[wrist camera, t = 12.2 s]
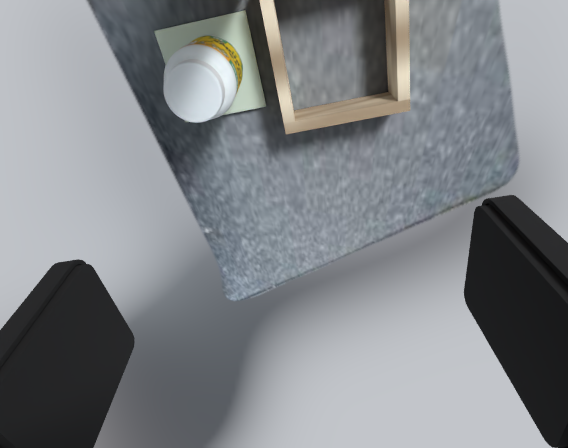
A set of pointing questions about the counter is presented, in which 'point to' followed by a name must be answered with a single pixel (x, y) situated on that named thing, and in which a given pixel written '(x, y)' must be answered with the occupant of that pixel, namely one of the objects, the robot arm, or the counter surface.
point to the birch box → (353, 108)
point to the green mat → (234, 32)
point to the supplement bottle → (202, 79)
